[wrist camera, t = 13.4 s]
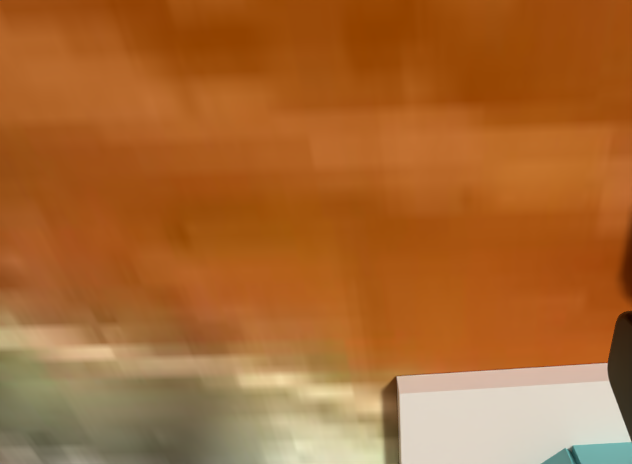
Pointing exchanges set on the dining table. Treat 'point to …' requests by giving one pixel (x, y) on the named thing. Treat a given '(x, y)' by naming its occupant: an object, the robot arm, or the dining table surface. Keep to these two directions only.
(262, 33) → the dining table surface
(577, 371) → the socket board
